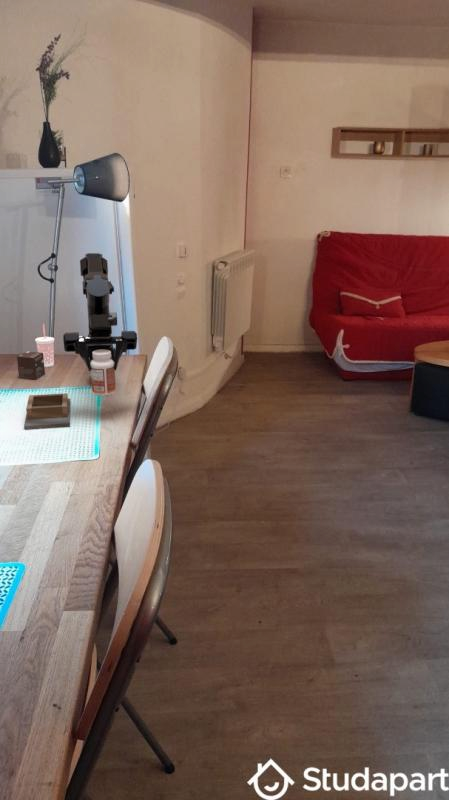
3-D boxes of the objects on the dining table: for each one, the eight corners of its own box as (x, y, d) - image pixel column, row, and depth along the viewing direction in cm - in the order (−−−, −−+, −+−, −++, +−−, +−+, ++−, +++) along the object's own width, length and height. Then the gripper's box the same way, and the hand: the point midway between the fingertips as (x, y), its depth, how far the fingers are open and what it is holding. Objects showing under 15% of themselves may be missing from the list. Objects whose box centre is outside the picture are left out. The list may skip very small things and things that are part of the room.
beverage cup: (39, 362, 193) (35, 322, 188) (57, 362, 194) (54, 322, 189) (35, 367, 188) (32, 326, 183) (54, 367, 188) (51, 326, 183)
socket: (29, 403, 156) (28, 390, 155) (70, 401, 159) (69, 388, 158) (24, 429, 140) (22, 414, 139) (69, 426, 143) (68, 412, 141)
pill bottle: (112, 387, 152) (110, 347, 148) (118, 394, 147) (116, 353, 143) (89, 389, 149) (86, 349, 145) (94, 397, 144) (92, 356, 140)
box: (35, 380, 176) (33, 357, 173) (18, 378, 177) (16, 356, 174) (45, 374, 181) (43, 352, 179) (28, 372, 182) (26, 350, 180)
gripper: (60, 301, 141) (63, 356, 135) (135, 300, 145) (140, 353, 139) (63, 324, 151) (65, 376, 145) (133, 323, 155) (138, 373, 149)
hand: (102, 369), depth 144 cm, fingers closed on pill bottle, 6 cm apart
